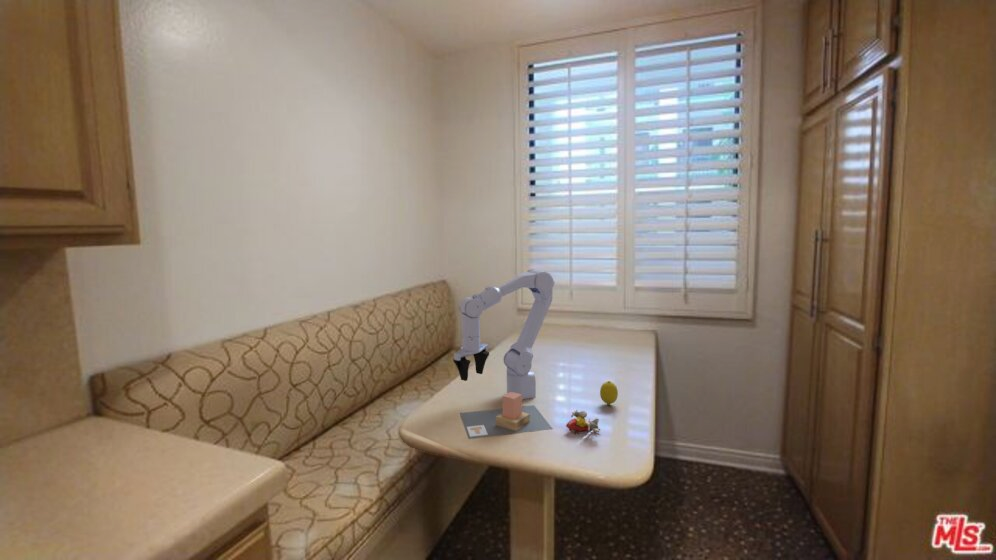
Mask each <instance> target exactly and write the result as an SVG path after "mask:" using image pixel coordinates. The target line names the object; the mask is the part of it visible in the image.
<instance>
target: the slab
mask: <svg viewBox="0 0 996 560" xmlns="http://www.w3.org/2000/svg"><path fill="white" fill-rule="evenodd" d="M529 422H530V414H528V413H524V412H522V415H520V416H519V417H517V418H515V419H512V418H508V417H505V416H503V413H501V414H500V415H498V416H496V425H499V426H502V427H505V428H508V429H511V430H514V431H517V430H519V429H520V428H522V427H523V426H525V425H526V424H528V423H529Z"/></svg>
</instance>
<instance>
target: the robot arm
mask: <svg viewBox="0 0 996 560" xmlns="http://www.w3.org/2000/svg"><path fill="white" fill-rule="evenodd" d="M555 284H556V283H555V280H554V278H553V275H552V274H551V273H550V272H549V271H542V270H537V269H534V268H531V269H530V268H529V269H528V270H527V271H523V272H521V273H520V274H519V275H517V276H515V277H513V278H512V279H510V280H508V281H506V282H505V283H503V284H501V285H500V286H498V287H496V286H486V287H484V289H483V290H481V291H479V292H478V293H473V294H472V296H467V297H464V298H463V299H462V300H461V301H460V304H459V305H458V310H459V312H461V333H462V334H461V337H462V338H461V340H462V345H461V347H460V350H458V351H457V352H455V353H454V354H453V358H452V359H453V360H452V361H453V363H454V364H455V365H456V366H455V367H456V368H457V371H458V373H459V377H460V380H461V381H464V382H467V381H468V377H469V367H470V364H471V360H470V359H467V357H470V356H472V355H473V359H474V363H475V373H476V374H478V375H482V374H483V372H484V368H485V364H486V361H487V360H488V358H489V356H490V351H489V344H488V343H481V315H482V314H483V312H484V311H486V310H488V309H489V308H492V307H493V306H495V305H497V304H499V303H500V302H501V301H502V298H503V297H504V296H505V297H506V296H507V295H510V294H511V293H513V292H516V291H518V290H520V289H522V288H527V289H529V290H530V292H531V294H532V296H533V298H534V301H533V303H532V306H531V308H530V310H529V313H528V315H527V317H526V319H525V322H524V325H522V326H523V327H522V329H521V331H520V333H519V336H518V339H517V341H516V342H514V343H513V344H511V345H510V348H509V349H508V350H507V351H506V352H505V353H504V355H503V358H502V359H503V361H502V362H503V364H504V365H505V367H506V394H507V393H509V392H514V393H518V394H522V400H525V399H532V398H533V399H536V393H537V391H536V386H537V385H536V381H537V379H536V376H535V373H534V371H532V370H531V369H532V366H533V365H532V363H533V358H534V352H533V346H534V345H535V341H536V339H537V337H538V336H539V332H540V330H541V328H542V325H543V323H544V321H545V318H546V315H547V313H548V311H549V309H550V308H551V304H552V303H553V288H554V286H555Z"/></svg>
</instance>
